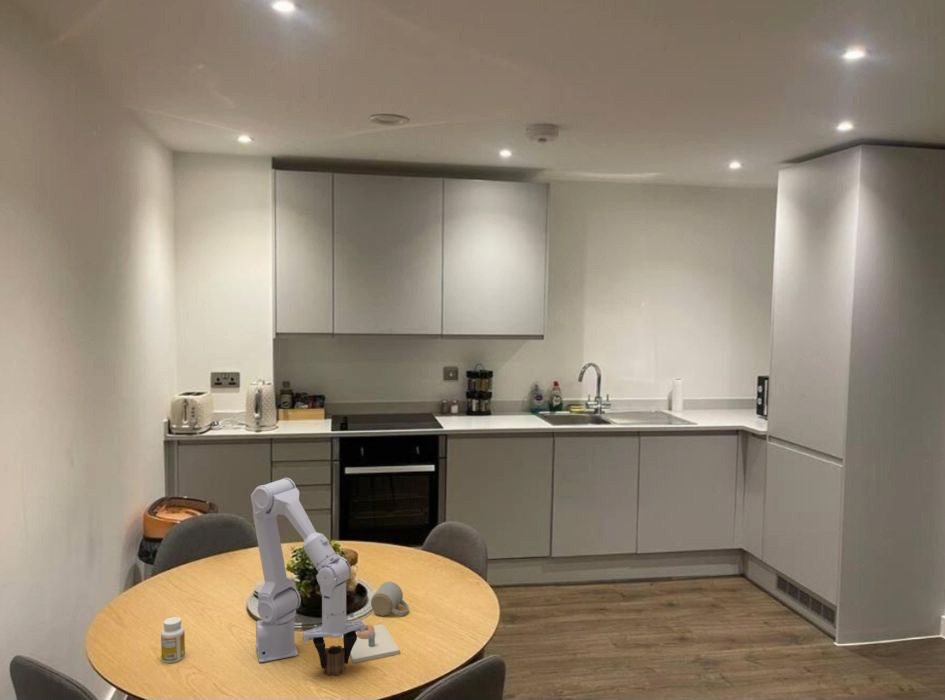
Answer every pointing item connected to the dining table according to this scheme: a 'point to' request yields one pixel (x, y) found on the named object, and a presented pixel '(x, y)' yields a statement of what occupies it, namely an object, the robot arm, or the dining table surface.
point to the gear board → (374, 651)
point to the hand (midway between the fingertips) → (334, 664)
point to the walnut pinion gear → (334, 660)
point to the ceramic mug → (388, 600)
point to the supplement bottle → (172, 640)
